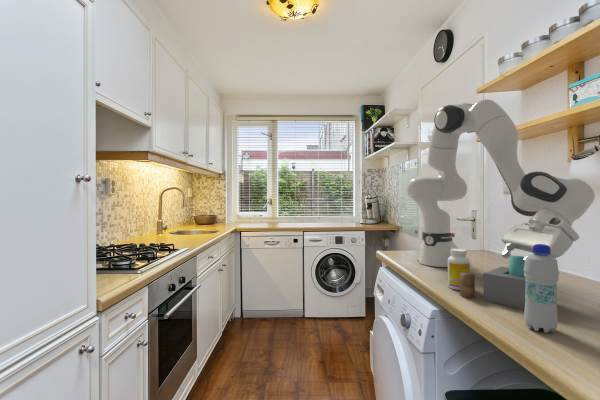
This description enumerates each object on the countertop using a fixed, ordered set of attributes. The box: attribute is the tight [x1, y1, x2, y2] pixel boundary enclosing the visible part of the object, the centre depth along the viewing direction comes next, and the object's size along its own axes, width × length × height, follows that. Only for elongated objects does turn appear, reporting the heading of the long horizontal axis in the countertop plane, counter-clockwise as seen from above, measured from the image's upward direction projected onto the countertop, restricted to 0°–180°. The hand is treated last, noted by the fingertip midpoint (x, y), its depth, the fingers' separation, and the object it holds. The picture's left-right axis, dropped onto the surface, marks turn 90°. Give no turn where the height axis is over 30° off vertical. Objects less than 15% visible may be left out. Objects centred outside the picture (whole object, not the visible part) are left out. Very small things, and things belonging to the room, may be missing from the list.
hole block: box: [482, 266, 526, 310], centre depth 96 cm, size 13×13×8 cm
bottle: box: [523, 244, 560, 334], centre depth 76 cm, size 7×7×20 cm
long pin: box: [508, 255, 526, 277], centre depth 96 cm, size 4×4×13 cm
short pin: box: [459, 272, 476, 299], centre depth 100 cm, size 4×4×7 cm
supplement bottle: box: [447, 248, 471, 291], centre depth 109 cm, size 7×7×13 cm
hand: (514, 259), depth 96 cm, fingers open, 8 cm apart
